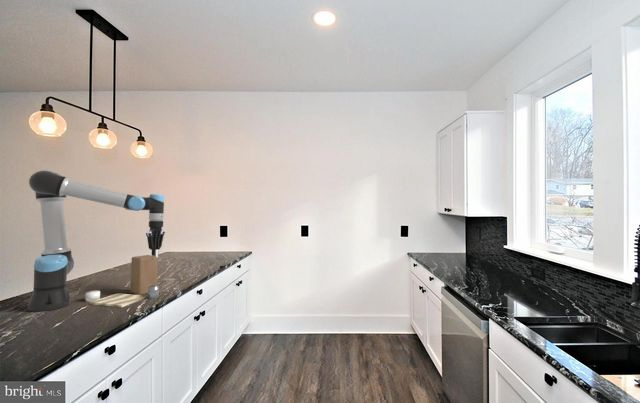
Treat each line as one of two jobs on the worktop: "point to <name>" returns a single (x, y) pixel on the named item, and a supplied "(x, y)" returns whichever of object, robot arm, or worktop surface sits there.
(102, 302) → the board
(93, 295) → the white rounded lump
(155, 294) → the grey ball
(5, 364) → the worktop surface
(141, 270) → the wooden block
